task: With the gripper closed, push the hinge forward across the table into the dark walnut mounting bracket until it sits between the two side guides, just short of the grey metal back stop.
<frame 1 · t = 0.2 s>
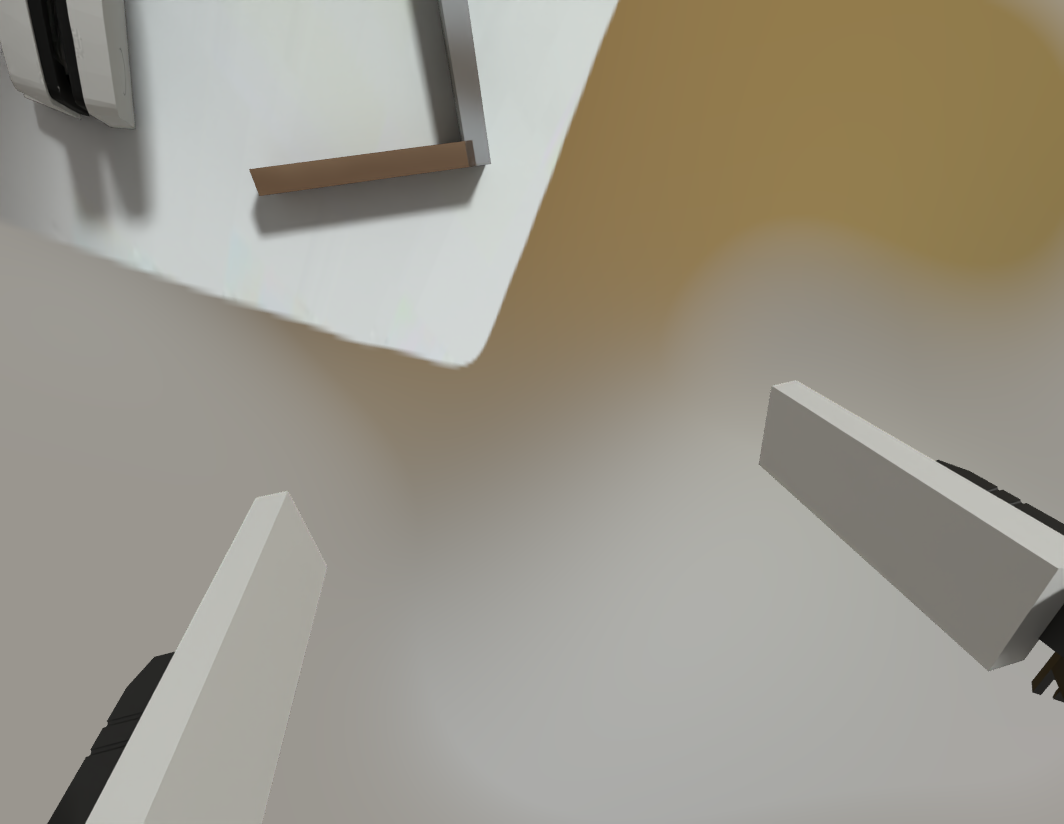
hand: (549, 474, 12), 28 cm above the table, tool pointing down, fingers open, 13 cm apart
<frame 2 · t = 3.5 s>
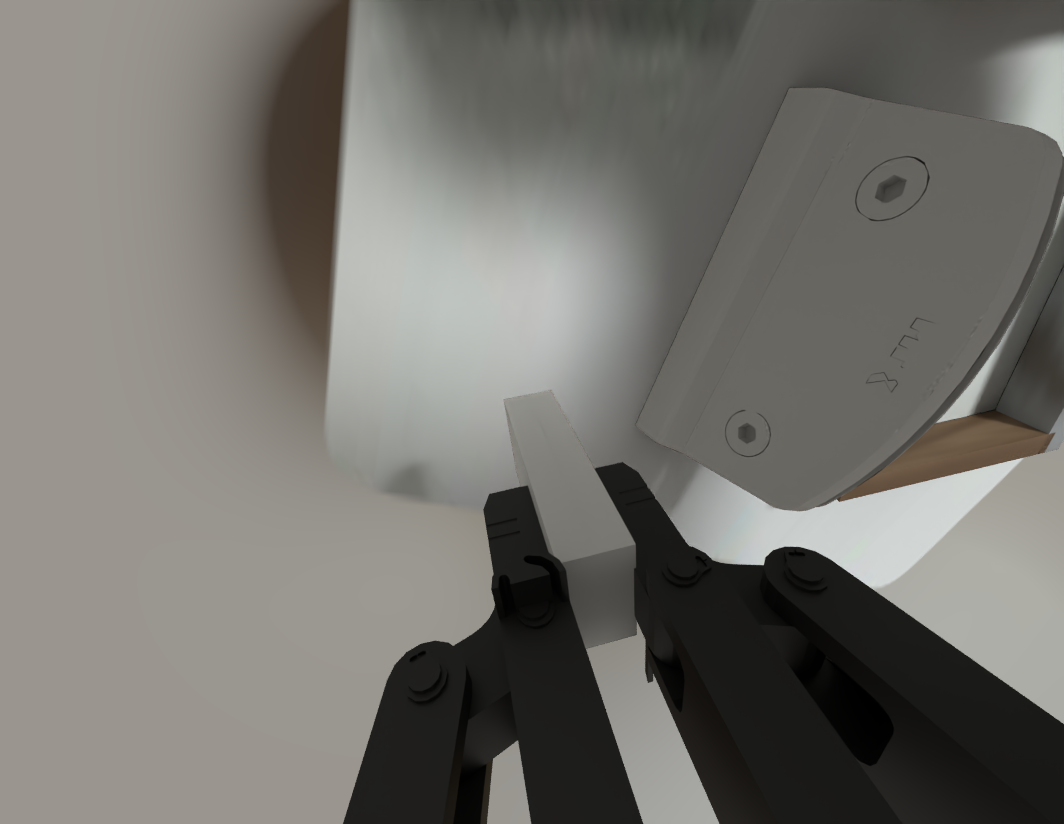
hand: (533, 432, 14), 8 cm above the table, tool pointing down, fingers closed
hinge bracket: (980, 251, 23), on the table
hinge: (759, 301, 23), on the table
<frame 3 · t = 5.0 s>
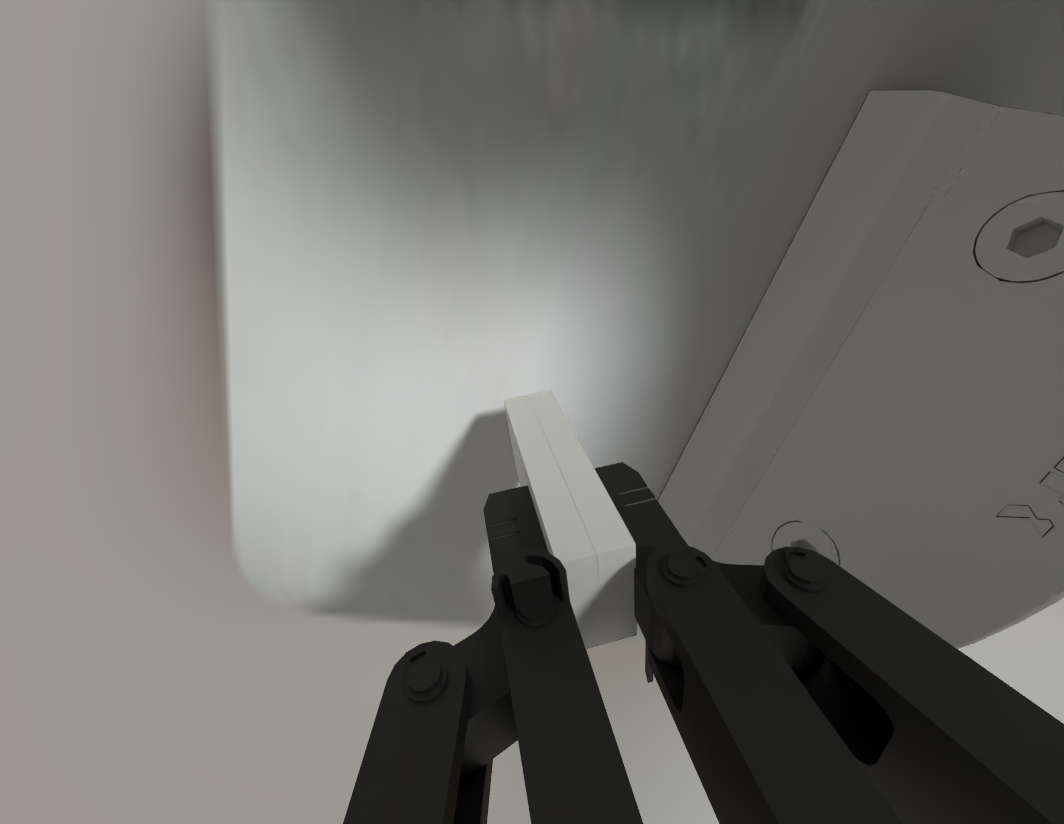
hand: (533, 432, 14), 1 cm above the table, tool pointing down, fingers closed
hinge: (809, 366, 17), on the table
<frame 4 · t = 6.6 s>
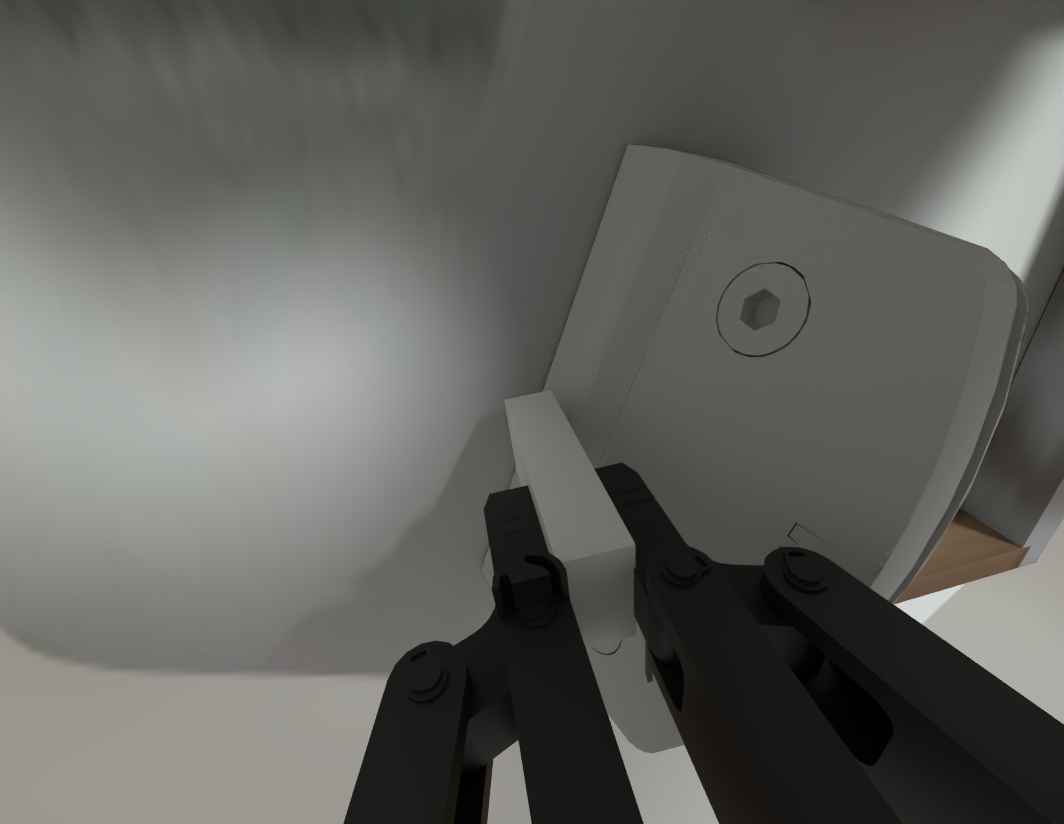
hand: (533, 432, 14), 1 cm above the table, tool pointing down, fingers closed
hinge bracket: (918, 327, 17), on the table
hinge: (632, 415, 17), on the table, touching gripper
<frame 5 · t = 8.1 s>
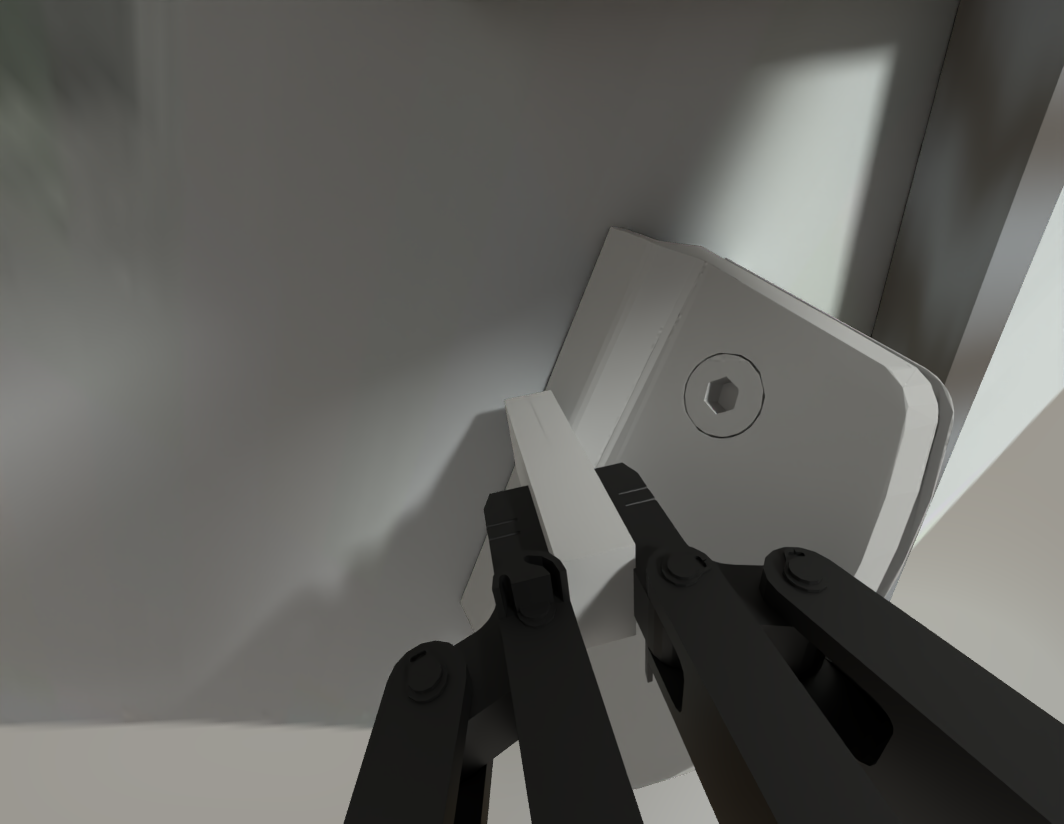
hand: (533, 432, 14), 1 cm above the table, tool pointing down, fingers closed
hinge bracket: (725, 368, 16), on the table
hinge: (609, 463, 18), on the table, touching gripper
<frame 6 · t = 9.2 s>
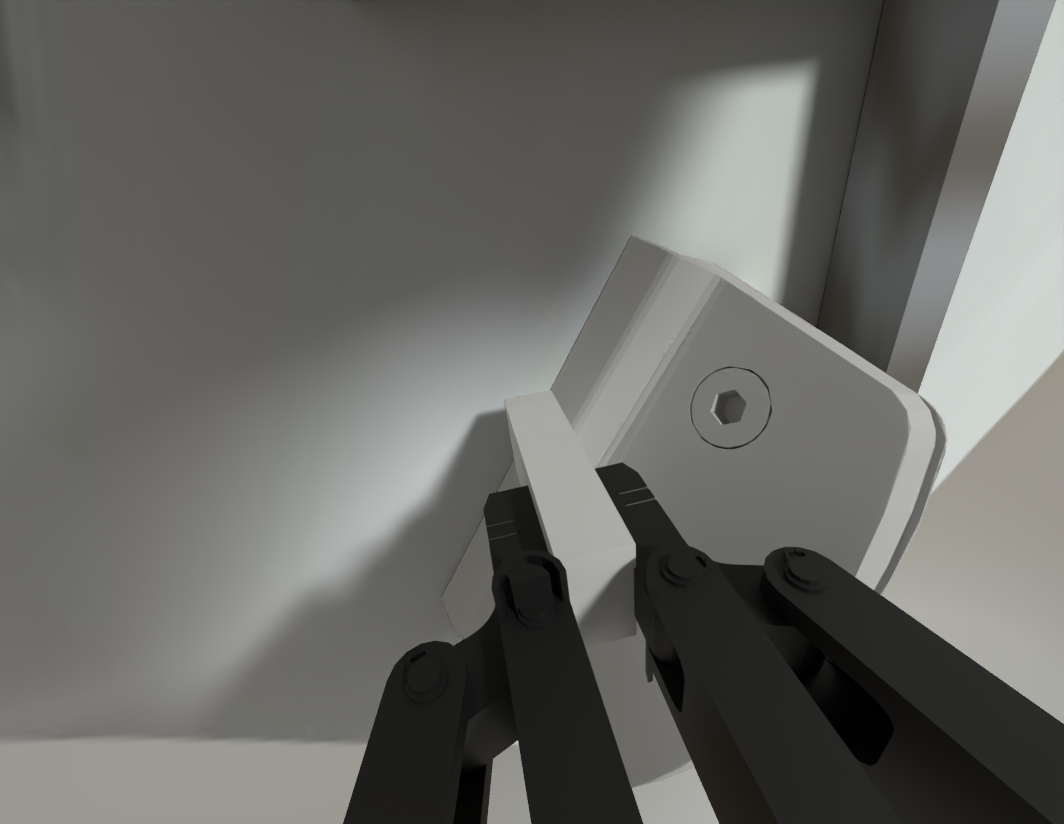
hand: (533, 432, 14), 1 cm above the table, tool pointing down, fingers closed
hinge bracket: (661, 382, 16), on the table
hinge: (603, 469, 18), on the table
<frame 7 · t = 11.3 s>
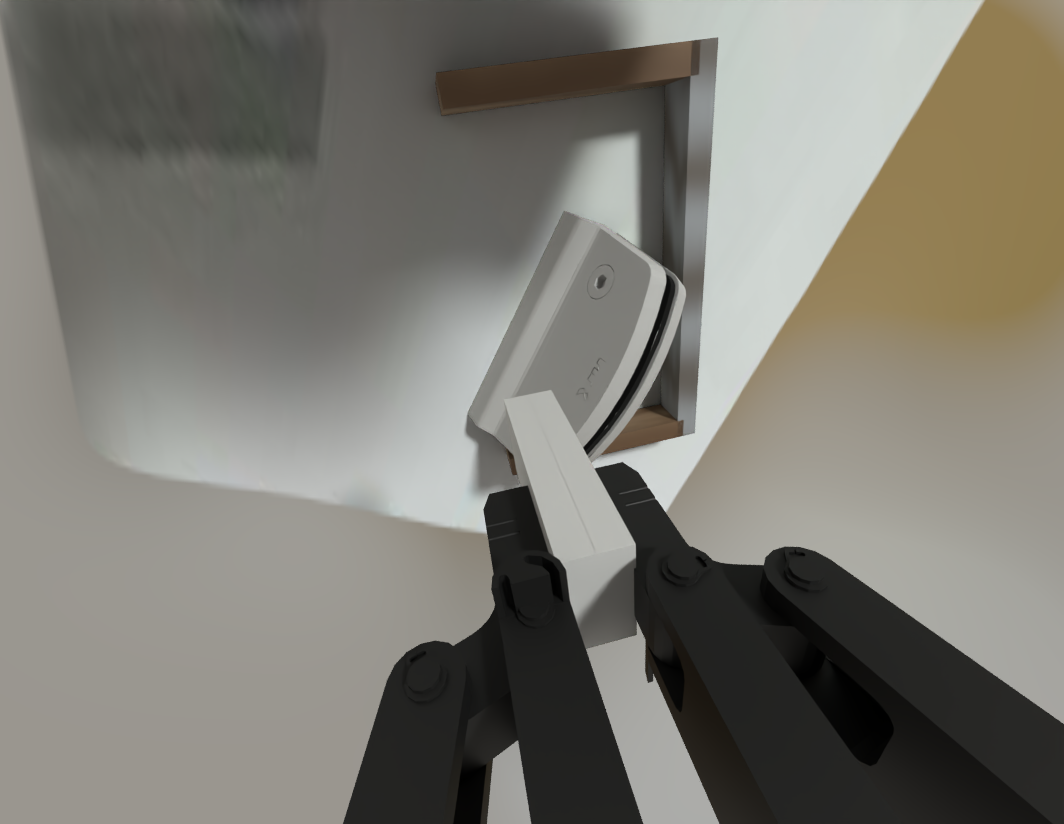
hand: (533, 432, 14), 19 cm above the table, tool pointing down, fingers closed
hinge bracket: (582, 286, 31), on the table
hinge: (556, 339, 33), on the table
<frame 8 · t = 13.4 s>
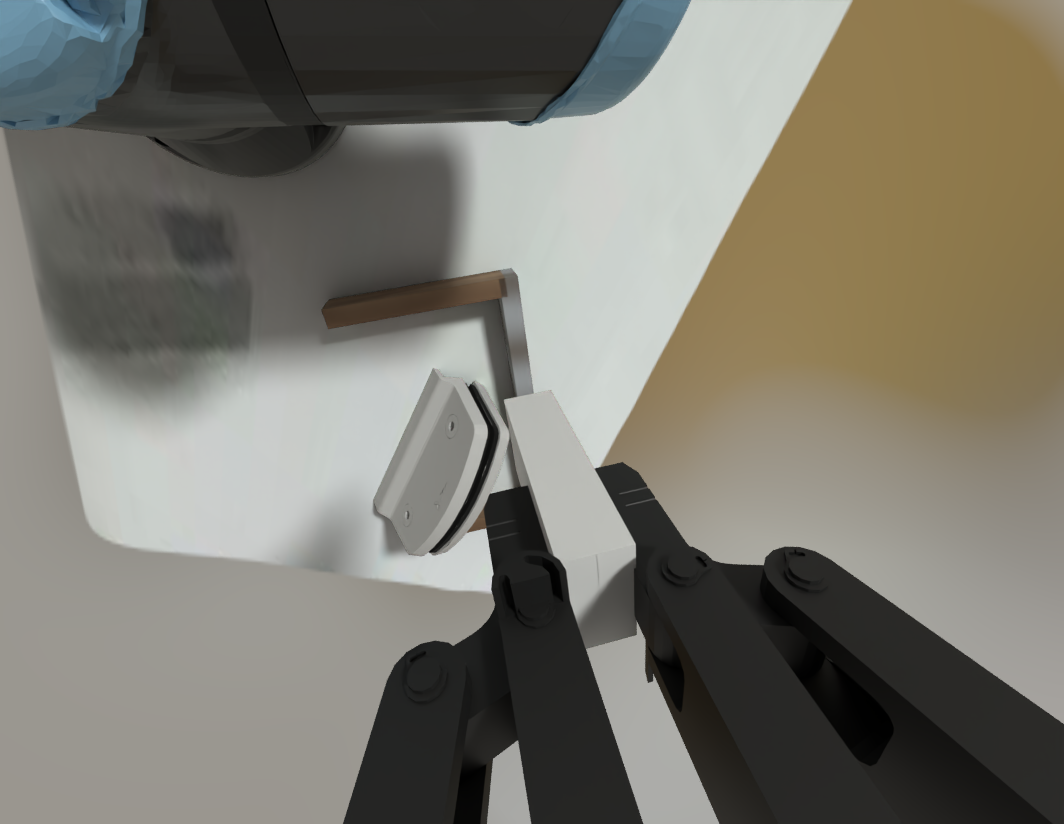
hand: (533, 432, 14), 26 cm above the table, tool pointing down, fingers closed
hinge bracket: (454, 413, 43), on the table
hinge: (439, 448, 45), on the table
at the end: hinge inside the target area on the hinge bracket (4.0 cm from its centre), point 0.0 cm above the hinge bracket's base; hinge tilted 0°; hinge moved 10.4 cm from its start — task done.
